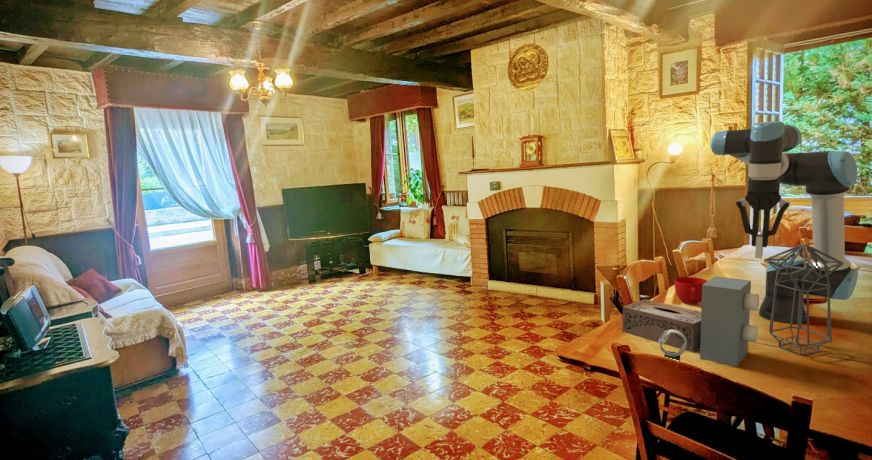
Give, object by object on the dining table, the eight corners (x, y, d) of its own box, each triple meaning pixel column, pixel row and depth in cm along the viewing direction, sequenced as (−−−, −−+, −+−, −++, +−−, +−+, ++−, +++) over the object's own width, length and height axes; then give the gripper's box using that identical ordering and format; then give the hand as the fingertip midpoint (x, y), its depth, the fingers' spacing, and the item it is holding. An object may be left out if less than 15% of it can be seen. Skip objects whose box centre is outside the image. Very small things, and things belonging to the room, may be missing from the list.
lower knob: (757, 339, 146) (757, 324, 145) (753, 344, 142) (754, 328, 142) (724, 333, 152) (724, 318, 151) (719, 337, 149) (720, 322, 148)
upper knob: (758, 308, 144) (759, 292, 144) (754, 312, 141) (755, 296, 140) (725, 303, 151) (726, 288, 150) (720, 307, 147) (721, 291, 147)
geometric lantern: (841, 354, 147) (849, 245, 142) (803, 363, 143) (810, 251, 138) (792, 337, 162) (797, 237, 157) (756, 344, 158) (760, 243, 153)
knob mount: (747, 352, 152) (750, 280, 149) (736, 366, 142) (739, 289, 139) (713, 345, 159) (715, 276, 156) (699, 358, 149) (702, 285, 146)
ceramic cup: (676, 308, 199) (676, 285, 198) (672, 297, 215) (673, 276, 213) (711, 310, 194) (712, 287, 193) (705, 299, 210) (705, 277, 209)
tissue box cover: (622, 332, 175) (622, 306, 174) (644, 323, 183) (644, 299, 182) (692, 353, 154) (693, 323, 153) (714, 342, 162) (714, 314, 161)
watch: (658, 359, 150) (658, 326, 149) (686, 363, 146) (687, 329, 145) (656, 366, 145) (657, 332, 144) (686, 370, 142) (687, 335, 140)
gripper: (794, 175, 131) (787, 256, 137) (739, 175, 140) (735, 251, 145) (791, 180, 126) (784, 263, 131) (734, 179, 134) (730, 257, 140)
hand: (758, 256), depth 138 cm, fingers closed
